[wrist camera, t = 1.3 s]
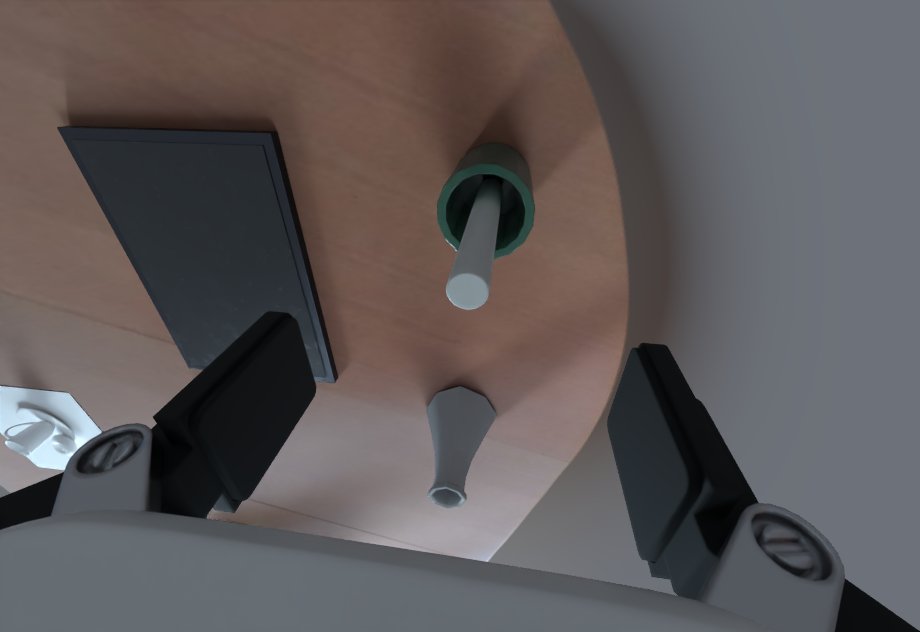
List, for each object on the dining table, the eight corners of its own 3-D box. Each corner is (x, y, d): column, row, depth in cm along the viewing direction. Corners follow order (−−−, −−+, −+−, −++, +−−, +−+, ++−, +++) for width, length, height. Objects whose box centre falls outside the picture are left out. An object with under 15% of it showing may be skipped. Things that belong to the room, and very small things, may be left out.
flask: (462, 439, 43) (449, 528, 34) (415, 405, 40) (389, 491, 32) (508, 413, 39) (506, 505, 31) (460, 375, 37) (443, 462, 29)
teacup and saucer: (92, 448, 55) (65, 472, 52) (47, 442, 56) (17, 466, 53) (56, 408, 50) (23, 432, 47) (7, 402, 51) (-29, 426, 48)
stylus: (481, 173, 25) (445, 270, 13) (504, 173, 25) (490, 273, 13) (480, 196, 26) (446, 308, 14) (502, 197, 26) (488, 311, 14)
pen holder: (454, 140, 25) (435, 162, 19) (535, 143, 24) (540, 165, 19) (455, 218, 28) (438, 257, 22) (526, 222, 27) (528, 262, 22)
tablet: (68, 125, 28) (54, 127, 27) (277, 131, 26) (269, 133, 25) (195, 363, 41) (188, 369, 40) (338, 377, 39) (334, 384, 39)
